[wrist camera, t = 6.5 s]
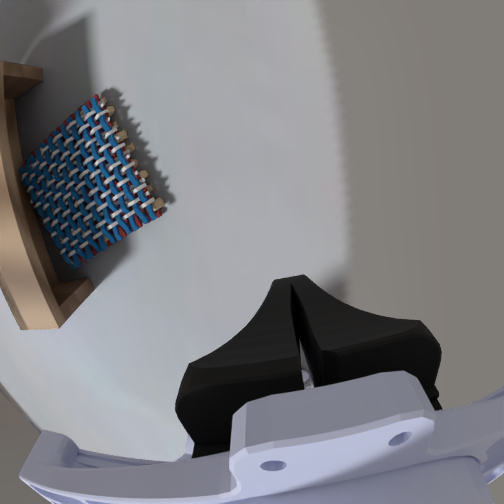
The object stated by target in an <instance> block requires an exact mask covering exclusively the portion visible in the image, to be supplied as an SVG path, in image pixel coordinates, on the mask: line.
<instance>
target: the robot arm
mask: <svg viewBox="0 0 504 504" xmlns="http://www.w3.org/2000/svg"><path fill="white" fill-rule="evenodd" d="M299 339H300V341H299ZM300 342H301V345H302V348H303V351H304V355H305V358H306V361H307V364H308V367H309V371H310V374H311V377H312V381H313V385H314V388H311V389H305V390H304V382H305V381H306V380H307V379H308V378H309V374H308V372H306V371H304V370H302V369H301V358H300ZM441 353H442V351H441V348H440V344H439V343H438V341H437V340H436V339H435V337H434V336H433V334H432V333H431V332H430V331H429V329H428V328H427V327H426V326H425V325H424V324H423V323H422V322H421V321H420V320H407V319H395V318H390V317H385V316H380V315H376V314H372V313H369V312H365V311H362V310H359V309H357V308H354V307H352V306H350V305H348V304H345V303H343V302H341V301H339V300H338V299H336V298H334V297H333V296H331V295H329V294H328V293H327V292H325V291H324V290H323V289H321V288H320V287H319V286H317V285H316V284H315V283H314V282H313V281H311V280H310V279H309V278H308V277H307V276H306V275H298V276H293V277H287V278H282V279H276V280H274V281H273V282H272V285H271V288H270V290H269V292H268V294H267V296H266V298H265V300H264V302H263V303H262V305H261V307H260V308H259V310H258V311H257V313H256V314H255V316H254V317H253V318H252V319H251V321H250V322H249V323H248V324H247V325H246V326H245V327H244V328H243V329H242V330H241V331H240V332H239V333H238V334H237V335H235V336H234V337H233V338H232V339H231V340H229V341H228V342H227V343H225V344H224V345H222V346H221V347H219V348H218V349H216V350H215V351H213V352H211V353H210V354H208V355H206V356H204V357H202V358H200V359H198V360H196V361H194V362H191V363H189V365H188V367H187V369H186V372H185V374H184V376H183V379H182V381H181V385H180V388H179V392H178V395H177V399H176V403H175V411H176V414H177V416H178V419H179V420H180V422H181V423H182V425H183V427H184V428H185V430H186V431H187V433H188V436H187V441H186V453H185V454H184V455H183V456H182V457H180V458H179V459H177V460H176V461H175V462H165V461H153V460H143V459H134V458H126V457H120V456H113V455H107V454H102V453H96V452H91V451H86V450H82V449H79V448H78V446H77V445H76V444H75V443H74V441H73V440H71V439H70V438H69V437H67V436H66V435H63V434H60V433H56V432H52V431H48V430H43V431H42V433H41V434H40V436H39V438H38V440H37V442H36V443H35V445H34V447H33V449H32V451H31V453H30V455H29V456H28V458H27V460H26V462H25V464H24V467H23V468H22V470H21V472H20V474H19V477H20V479H21V480H23V481H24V482H25V483H26V484H27V485H29V486H30V487H31V488H32V489H34V490H35V491H36V492H38V493H39V494H40V495H42V496H43V497H44V498H46V499H47V500H48V501H50V502H51V503H52V504H495V501H494V499H493V497H492V494H491V492H490V490H489V487H488V485H487V484H489V483H490V482H492V481H493V480H495V479H496V478H497V477H499V476H500V475H502V474H503V473H504V387H502V388H500V389H498V390H497V391H495V392H493V393H491V394H489V395H487V396H485V397H484V398H482V399H480V400H478V401H476V402H474V403H472V404H470V405H465V406H461V407H455V408H450V409H444V410H443V409H442V407H441V405H440V403H439V402H438V400H437V398H438V397H439V392H438V390H437V389H436V387H435V385H434V384H435V380H436V377H437V373H438V369H439V366H440V361H441Z"/></svg>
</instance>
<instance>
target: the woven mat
mask: <svg viewBox="0 0 504 504" xmlns="http://www.w3.org/2000/svg"><path fill="white" fill-rule="evenodd" d="M91 103H92V105H91ZM91 103H90V101H87V102H86V103H85V105H84V106H83V107H82V106H81V107H80V108H79V109H78V111H77V112H76V113H75V115H74V114H72V115H70V116H69V118H68V119H66V120H65V121H64V123H63V124H62V125H61V126H59V127H57V128H56V130H55V131H54V132H53V133H51V134H50V136H49V137H48V138H46V139H45V140H44V142H43V143H42V144H41V145H40V149H39V148H37V150H34V151H33V152H32V154H33V155H30V156H29V158H28V159H29V160H26V161H25V162H23V163H22V166H23V167H22V166H21V167H20V168H19V169H18V170H19V171H20V173H21V174H22V179H21V181H23V182H24V185H25V186H27V187H28V190H27V191H26V192H28V193H29V191H30V194H31V201H30V202H31V204H32V203H33V202H35V203H36V205H35V207H34V208H35V209H36V208H37V211H38V214H39V215H41V216H42V217H43V224H45V225H46V229H47V231H49V232H50V233H52V234H51V238H52V237H53V238H54V242H55V245H56V246H57V248H59V249H60V250H61V251H60V254H63V259H64V260H65V261H66V262H67V263H68V264H70V265H71V266H72V268H73V269H75V268H77V267H79V266H81V262H80V261H79V259H80V260H81V261H82V262H84V263H85V262H87V260H89V259H91V258H93V256H95V255H96V254H98V252H101V251H104V250H105V249H107V247H108V246H111V245H113V243H115V242H117V241H120V240H121V239H122V238H124V237H125V236H127V234H130V233H131V232H133V231H136V230H138V229H139V228H140V227H142V226H143V225H142V223H141V221H140V220H142V221H143V223H144V224H146V223H149V222H151V221H153V220H155V219H156V218H157V217H158V218H159V217H160V216H162V214H161V210H160V208H161V207H162V206H164V205H165V204H164V201H163V200H162V199H161V198H160V197H159V198H158V199H156V200H155V199H154V197H152V196H151V195H150V192H151V191H153V189H152V187H151V185H148V186H147V185H146V183H143V182H144V181H145V180H144V179H145V178H146V177H147V176H148V175H149V174H148V173H147V171H146V170H142V171H140V172H138V171H136V170H135V168H136V167H137V166H138V162H137V160H136V159H132V160H130V156H131V155H130V153H131V152H133V151H134V150H136V149H135V147H134V145H133V143H130V144H129V145H127V146H126V147H124V146H125V143H124V142H123V140H124V139H126V138H127V132H126V131H125V130H123V131H121V132H118V130H117V128H118V127H119V125H118V123H117V121H115V122H113V123H112V122H111V120H110V116H111V115H112V114H113V113H114V111H115V109H114V108H113V106H107V108H106V110H105V109H104V107H103V106H104V105H105V104H106V103H107V100H106V98H105V96H104V97H103V98H102V99H100V98H99V96H98V95H97V94H95V95H94V96H93V98H92V99H91ZM95 113H97V115H96V114H95ZM102 127H103V128H102ZM103 129H104V130H103ZM94 132H95V134H94ZM107 137H108V138H107ZM108 139H109V140H108ZM100 145H101V146H100ZM115 151H116V153H115ZM113 168H114V172H113V170H112V169H113ZM28 175H29V176H28ZM72 180H73V181H72ZM92 180H93V181H92ZM118 180H119V181H120V182H119V181H118ZM135 187H136V188H135ZM134 188H135V189H134ZM117 198H118V199H119V200H118V199H117ZM73 200H74V201H73ZM141 201H142V202H143V203H142V202H141ZM78 209H79V210H78ZM44 211H45V212H44ZM99 211H100V213H99V214H98V212H99ZM154 211H155V212H154ZM50 223H51V224H50ZM52 227H53V228H52ZM54 228H55V229H54ZM125 231H126V232H125ZM84 237H86V240H85V239H84ZM61 240H62V241H61ZM60 241H61V242H60ZM106 241H107V245H108V246H107V245H106V244H105V242H106ZM91 251H92V252H91ZM92 253H93V254H92ZM67 254H68V255H67Z"/></svg>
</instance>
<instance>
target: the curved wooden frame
mask: <svg viewBox="0 0 504 504" xmlns="http://www.w3.org/2000/svg"><path fill="white" fill-rule="evenodd" d="M41 81H43V75H42V68H37V67H32V66H27V65H22V64H16V63H10V62H4V61H0V287H1V290H2V292H3V294H4V296H5V299H6V301H7V303H8V305H9V307H10V309H11V312H12V314H13V316H14V318H15V320H16V322H17V324H18V326H19V327H20V329H21V330H37V329H59V328H60V327H61V326H62V325H63V324H64V323H65V321H66V320H67V319H68V318H69V317H70V316H71V315H72V314H73V312H74V311H75V310H76V309H77V308H78V307H79V306H80V305H81V304H82V303H83V302H84V300H85V299H86V298H87V297H88V296H89V295H90V294H91V293H92V292H93V291H94V288H93V286H92V283H91V281H90V278H84V279H78V280H73V281H67V282H61V283H59V281H58V278H57V276H56V273H55V271H54V268H53V265H52V263H51V260H50V257H49V254H48V252H47V249H46V246H45V243H44V240H43V237H42V234H41V231H40V228H39V224H38V221H37V218H36V214H35V211H34V207H33V203H32V204H31V202H30V201H31V196H30V192H29V193H28V192H26V191H27V190H28V187H27V186H25V185H24V182H23V181H21V179H22V174H21V173H20V171H19V170H18V169H19V168H20V167H21V166H22V163H23V159H22V154H21V148H20V142H19V135H18V128H17V120H16V111H15V99H16V98H17V97H18V96H20V95H21V94H23V93H24V92H26V91H27V90H29V89H30V88H32V87H33V86H35V85H36V84H38V83H39V82H41ZM22 167H23V166H22Z"/></svg>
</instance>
